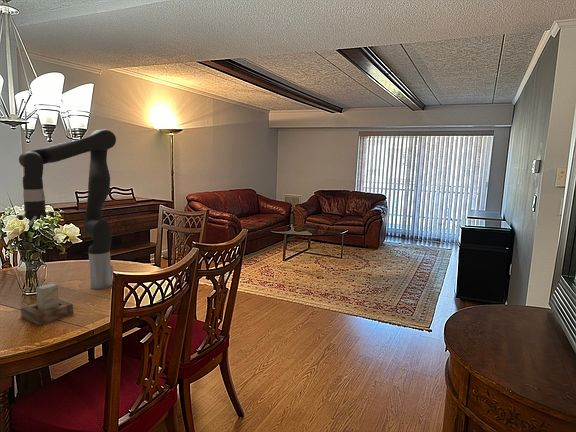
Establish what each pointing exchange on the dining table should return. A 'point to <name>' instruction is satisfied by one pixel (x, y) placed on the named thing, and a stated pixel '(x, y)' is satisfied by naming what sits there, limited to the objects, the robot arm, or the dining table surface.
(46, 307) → the skincare box
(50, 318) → the grey flat hollow block
